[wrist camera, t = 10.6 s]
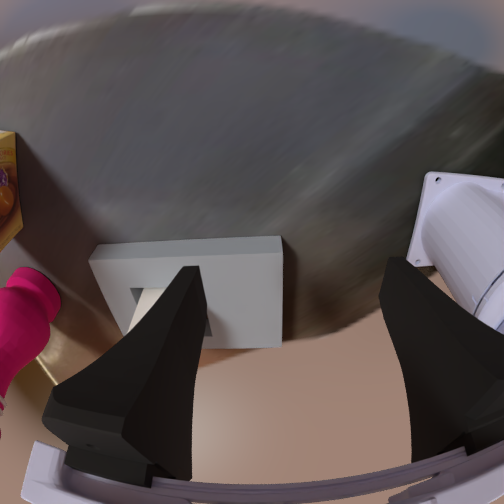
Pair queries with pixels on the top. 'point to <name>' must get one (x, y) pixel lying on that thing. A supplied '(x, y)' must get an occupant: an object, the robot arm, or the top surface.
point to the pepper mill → (24, 322)
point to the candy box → (8, 190)
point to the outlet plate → (214, 282)
